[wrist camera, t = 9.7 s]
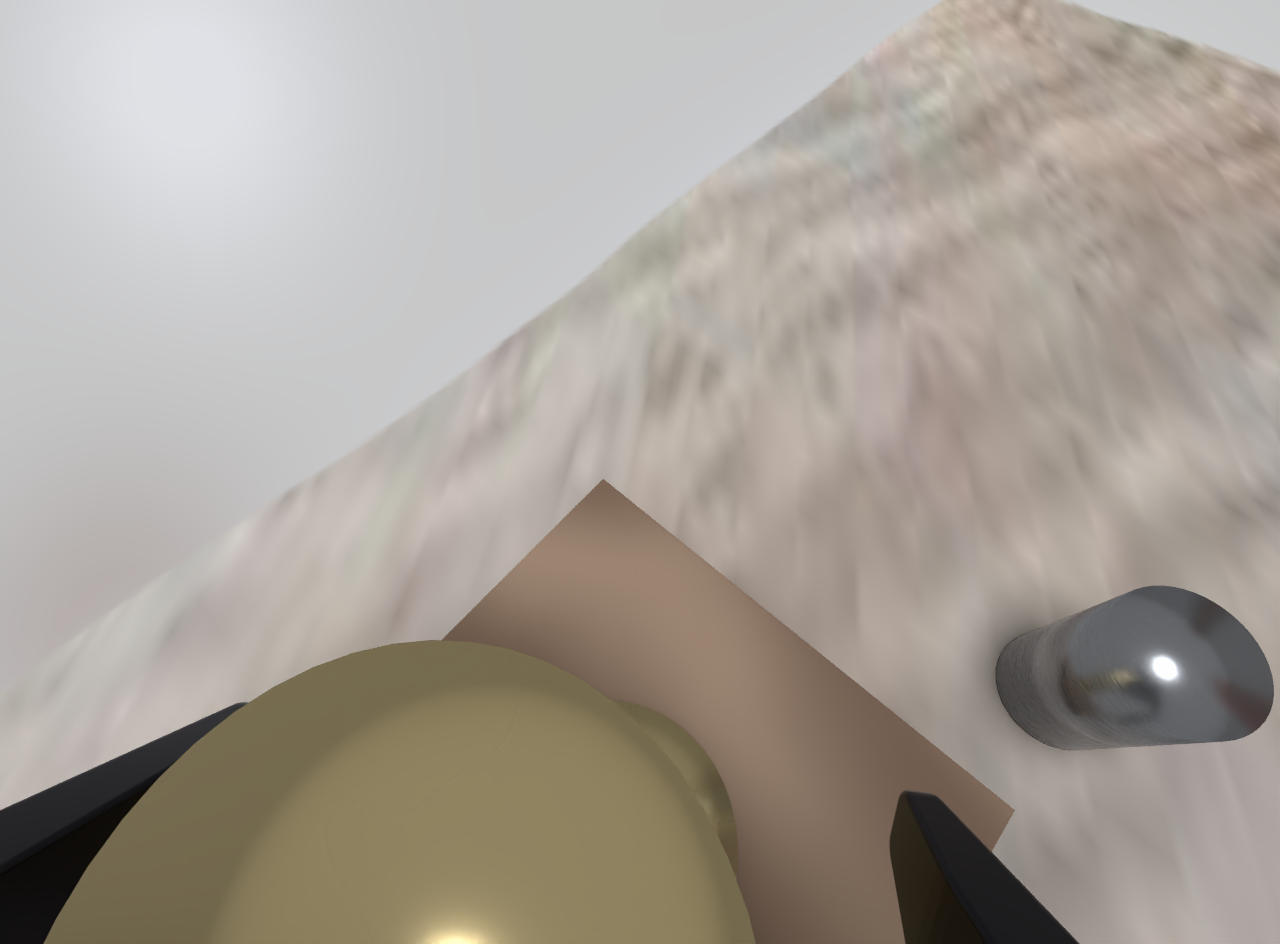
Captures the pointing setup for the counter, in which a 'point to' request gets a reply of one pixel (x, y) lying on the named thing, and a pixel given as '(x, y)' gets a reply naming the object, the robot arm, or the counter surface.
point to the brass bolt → (424, 817)
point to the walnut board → (737, 715)
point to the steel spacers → (1138, 675)
